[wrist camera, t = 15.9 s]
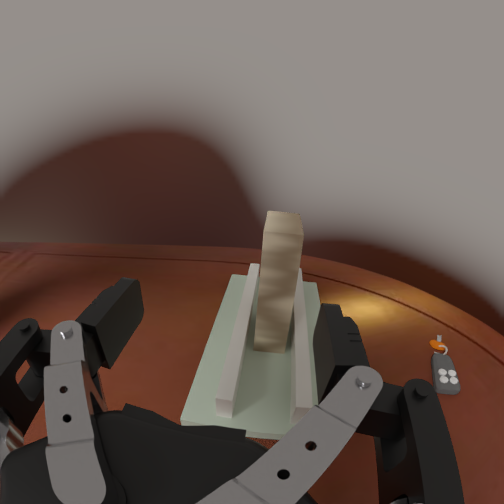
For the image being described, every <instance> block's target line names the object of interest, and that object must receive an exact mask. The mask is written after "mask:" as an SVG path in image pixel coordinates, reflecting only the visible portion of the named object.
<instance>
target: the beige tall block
mask: <svg viewBox="0 0 504 504" xmlns="http://www.w3.org/2000/svg"><path fill="white" fill-rule="evenodd" d="M303 238H304V233H303V228H302V223H301V218H300V214H295V213H285V212H276V211H268V214H267V218H266V223H265V228H264V235H263V246H262V257H261V269H260V281H259V292H258V303H257V314H256V325H255V336H254V347H253V351H260V352H270V353H280V354H284V353H285V348H286V342H287V337H288V332H289V326H290V321H291V315H292V309H293V303H294V297H295V291H296V285H297V279H298V272H299V266H300V259H301V251H302V245H303Z"/></svg>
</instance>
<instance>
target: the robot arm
mask: <svg viewBox="0 0 504 504" xmlns="http://www.w3.org/2000/svg"><path fill="white" fill-rule="evenodd" d="M143 313H144V307H143V301H142V295H141V288H140V283H139V281H138V280H136V279H130V278H124V277H123V278H121V279H120V280H119V281H118V282H117V283H116V284H115V285H114V286H111V287H109V288H107V289H105V290H104V291H102V292H101V293H100V294H99V295H98V296H97V299H95V300H94V301H93V302H92V304H90V305H89V306H88V307H87V308H86V309H85V310H84V311H83V313H82V314H81V315H80V316H79V317H78V318H77V319H76V320H75V321H63V322H61V323H59V324H57V325H56V326H55V327H54V328H53V330H42V329H40V327H39V325H38V322H37V321H36V320H35V319H32V318H27V319H23V320H21V321H19V322H18V323H17V324H16V325H15V326H14V327H13V328H12V329H11V330H10V331H9V332H8V334H7V335H6V336H5V337H4V338H3V339H2V340H1V341H0V504H318V503H317V502H316V501H315V500H314V499H313V498H312V497H311V496H310V495H309V494H308V493H307V491H308V490H309V488H310V487H311V486H312V485H313V484H314V483H315V482H316V481H317V479H318V478H319V477H320V476H321V475H322V474H323V472H324V471H325V470H326V469H327V468H328V466H329V465H330V464H331V463H332V462H333V460H334V459H335V458H336V456H337V455H338V454H339V453H340V451H341V450H342V449H343V447H344V446H345V445H346V443H347V442H348V440H349V439H350V438H351V436H352V435H353V433H354V432H357V433H361V434H365V435H370V436H374V442H375V451H376V461H377V473H378V488H379V504H464V497H463V491H462V486H461V480H460V475H459V470H458V466H457V462H456V457H455V453H454V449H453V445H452V442H451V438H450V434H449V431H448V427H447V424H446V421H445V418H444V414H443V411H442V408H441V405H440V402H439V399H438V396H437V394H436V391H435V389H434V387H433V386H432V385H431V384H430V383H428V382H427V381H425V380H422V379H412V380H409V381H408V382H407V383H406V384H405V386H404V387H401V386H397V385H392V384H388V383H385V382H383V380H382V377H381V376H380V374H379V373H378V372H377V371H375V370H374V369H372V368H370V365H369V362H368V359H367V355H366V352H365V349H364V346H363V342H362V339H361V336H360V333H359V330H358V327H357V325H356V323H355V322H354V321H353V320H352V319H351V318H350V317H343V315H342V311H341V308H340V305H337V304H325V303H322V304H321V306H320V310H319V314H318V318H317V322H316V326H315V329H314V334H313V353H314V363H315V373H316V384H317V396H318V405H314V406H313V407H312V408H311V409H310V410H309V411H308V412H307V413H306V414H305V415H304V416H303V417H302V418H301V419H300V420H299V421H298V423H297V424H296V425H295V426H294V427H293V428H292V429H291V430H290V431H288V432H287V433H286V434H285V435H284V436H283V437H282V438H281V439H280V440H279V441H278V442H277V443H276V444H275V445H274V446H273V447H272V448H271V449H268V448H266V447H265V446H263V445H261V444H260V443H258V442H256V441H253V440H251V439H248V438H245V436H246V430H244V429H237V428H229V427H223V426H217V425H202V426H183V425H178V424H176V423H174V422H172V421H170V420H168V419H166V418H164V417H162V416H160V415H158V414H157V413H155V412H153V411H150V410H146V409H143V408H140V407H136V406H133V405H130V404H127V403H126V404H125V406H124V408H123V410H122V411H121V410H113V411H108V408H107V405H106V401H105V397H104V392H103V388H102V383H101V378H100V374H99V371H98V369H99V368H100V366H102V367H105V368H108V369H111V367H112V366H113V364H114V362H115V361H116V359H117V358H118V356H119V354H120V353H121V351H122V350H123V348H124V347H125V345H126V343H127V342H128V340H129V339H130V337H131V336H132V334H133V333H134V331H135V330H136V328H137V327H138V325H139V324H140V322H141V320H142V318H143ZM25 360H27V362H28V364H29V366H30V368H29V370H28V371H27V372H26V374H25V375H24V377H23V378H22V379H21V381H20V382H19V384H17V382H16V379H15V376H16V372H17V371H18V369H19V368H20V366H21V365H22V364H23V362H24V361H25ZM43 401H45V416H46V426H47V435H48V436H47V437H45V438H42V439H40V440H37V441H35V442H32V443H30V444H27V445H24V444H23V443H24V438H23V437H24V435H25V433H26V431H27V430H28V428H29V426H30V424H31V422H32V420H33V419H34V417H35V415H36V413H37V412H38V410H39V408H40V406H41V405H42V403H43Z"/></svg>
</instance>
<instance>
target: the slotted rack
mask: <svg viewBox="0 0 504 504" xmlns="http://www.w3.org/2000/svg"><path fill="white" fill-rule="evenodd" d="M259 265H260V264H253V263H251V264H250V268H249V272H248V275H247V276H244V275H235V274H232V276H231V279H230V281H229V284H228V287H227V290H226V292H225V295H224V298H223V301H222V303H221V306H220V309H219V312H218V314H217V317H216V320H215V323H214V325H213V328H212V331H211V334H210V336H209V339H208V342H207V345H206V347H205V350H204V353H203V356H202V359H201V361H200V364H199V367H198V370H197V373H196V376H195V378H194V381H193V384H192V387H191V390H190V392H189V395H188V398H187V401H186V404H185V407H184V410H183V412H182V415H181V418H180V421H181V424H182V425H183V426H202V425H217V426H223V427H229V428H237V429H244V430H246V436H245V437H253V438H263V439H275V440H280V439H281V438H282V437H283V436H284V435H285V434H286V433H287V432H288V431H290V430H291V429H292V428H293V427H294V426H295V425H296V424H297V423H298V421H299V420H300V419H301V418H302V417H303V416H304V415H305V414H306V413H307V412H308V411H309V410H310V409H311V408H312V407H313V406H314V405H318V396H317V384H316V373H315V363H314V353H313V334H314V329H315V326H316V322H317V318H318V314H319V310H320V306H321V305H320V300H319V294H318V289H317V284H316V283H314V282H303V280H302V271H301V268H299V272H298V279H297V285H296V291H295V297H294V303H293V309H292V315H291V321H290V326H289V332H288V337H287V342H286V348H285V353H284V354H280V353H270V352H260V351H253V347H254V336H255V325H256V314H257V303H258V292H259V281H260V277H259Z"/></svg>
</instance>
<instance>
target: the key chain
mask: <svg viewBox="0 0 504 504" xmlns="http://www.w3.org/2000/svg"><path fill="white" fill-rule="evenodd" d="M437 337H438V338H437V341H436V340H431V341H430V342H429V343H430V345H431V346H432V347H433V348H435V349H437V350H442V351H443V350H445V353H444V354H439V353H437V352H434V354H433V357H432V358H431V366H432V376H433V387H434V389H435V391H436V392H437V393H441V394H454V395H456V394H458V393H459V391H460V383H459V380H458V377H457V373H456V370H455V367H454V365H453V362H452V360H451V358H450V357H449V356H448V355H445V354H446V353H447V347H446V346H445V345H444V344H443V343H442V342H441V337H442V336H441V335H440V336H439V335H438V336H437Z"/></svg>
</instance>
